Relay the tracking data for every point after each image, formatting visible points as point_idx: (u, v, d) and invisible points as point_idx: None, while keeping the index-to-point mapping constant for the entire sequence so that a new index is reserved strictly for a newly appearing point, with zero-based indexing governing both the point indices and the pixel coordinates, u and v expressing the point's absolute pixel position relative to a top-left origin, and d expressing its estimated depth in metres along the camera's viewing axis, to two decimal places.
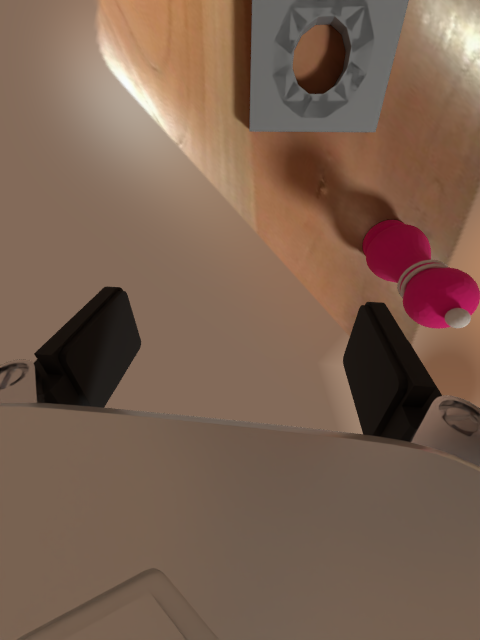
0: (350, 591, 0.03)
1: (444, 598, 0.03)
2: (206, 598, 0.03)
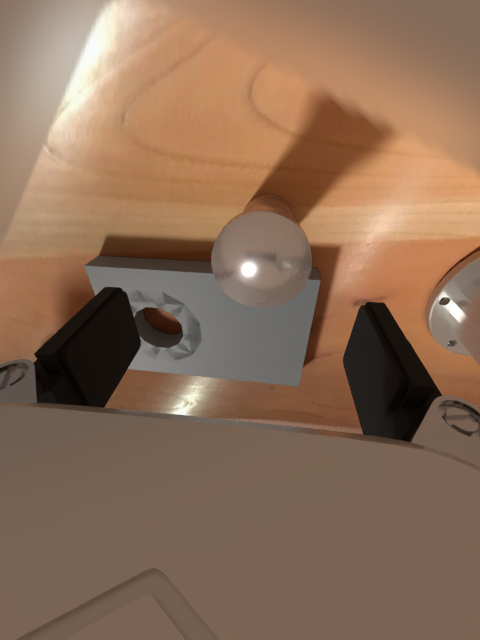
0: (350, 591, 0.03)
1: (444, 598, 0.03)
2: (205, 598, 0.03)
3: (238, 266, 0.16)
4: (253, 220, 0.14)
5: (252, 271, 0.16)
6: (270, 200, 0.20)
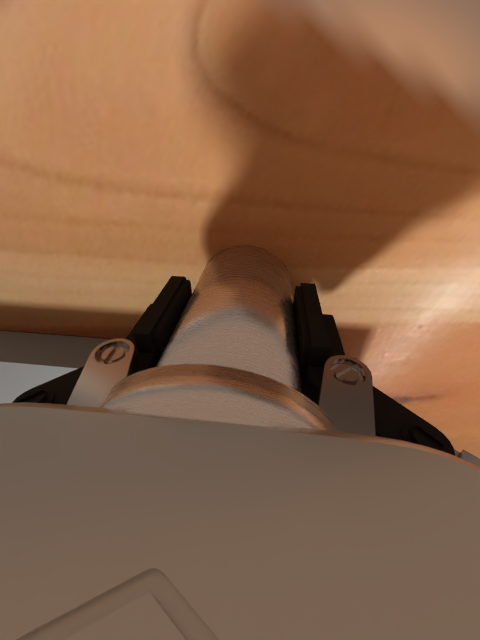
0: (350, 591, 0.03)
1: (444, 598, 0.03)
2: (205, 598, 0.03)
3: None
4: None
5: None
6: (246, 268, 0.10)
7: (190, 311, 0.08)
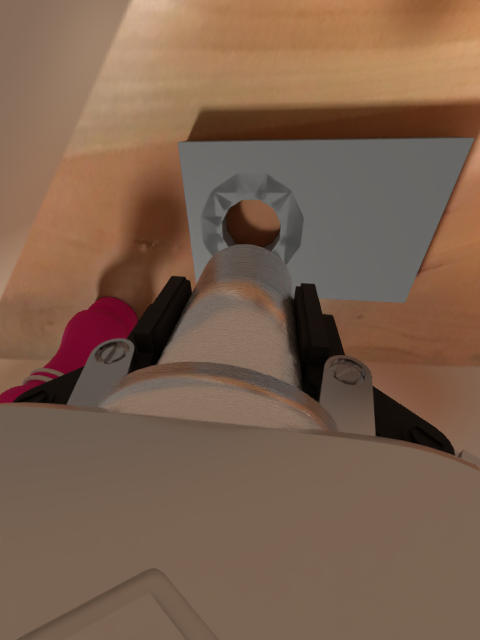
0: (350, 591, 0.03)
1: (444, 598, 0.03)
2: (205, 600, 0.03)
3: None
4: None
5: None
6: (246, 267, 0.10)
7: (190, 309, 0.08)
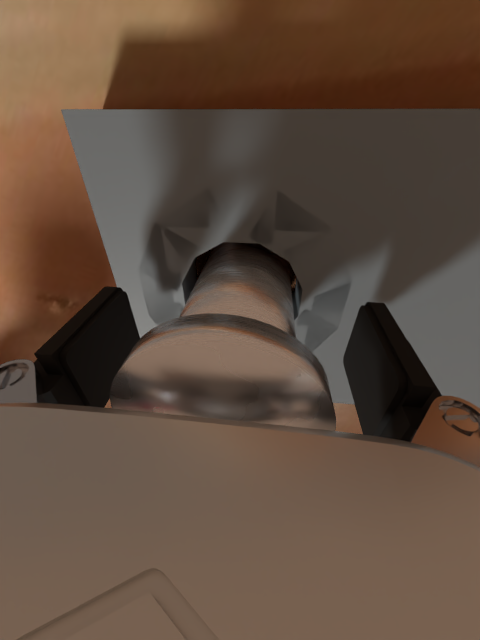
0: (350, 591, 0.03)
1: (444, 599, 0.03)
2: (205, 598, 0.03)
3: None
4: (191, 354, 0.06)
5: None
6: (248, 251, 0.11)
7: (200, 286, 0.10)
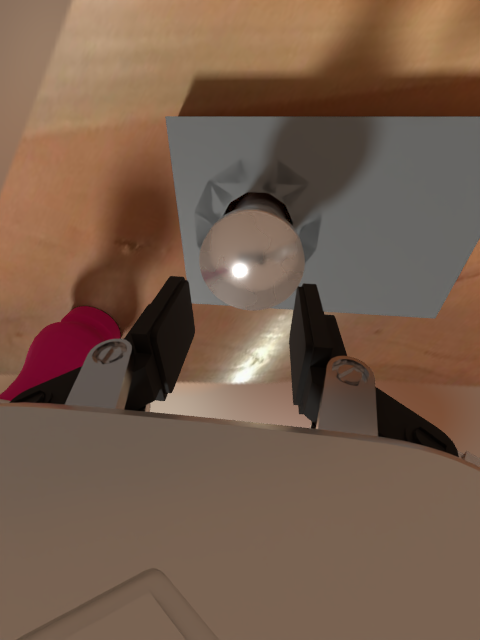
0: (350, 591, 0.03)
1: (444, 598, 0.03)
2: (205, 598, 0.03)
3: (228, 267, 0.15)
4: (242, 219, 0.13)
5: (243, 272, 0.15)
6: (261, 198, 0.19)
7: None
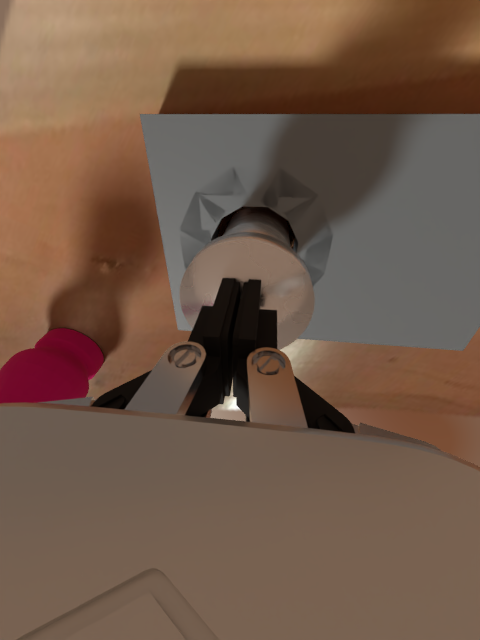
0: (350, 591, 0.03)
1: (444, 598, 0.03)
2: (206, 599, 0.03)
3: None
4: (233, 249, 0.10)
5: None
6: (259, 213, 0.16)
7: (228, 233, 0.14)
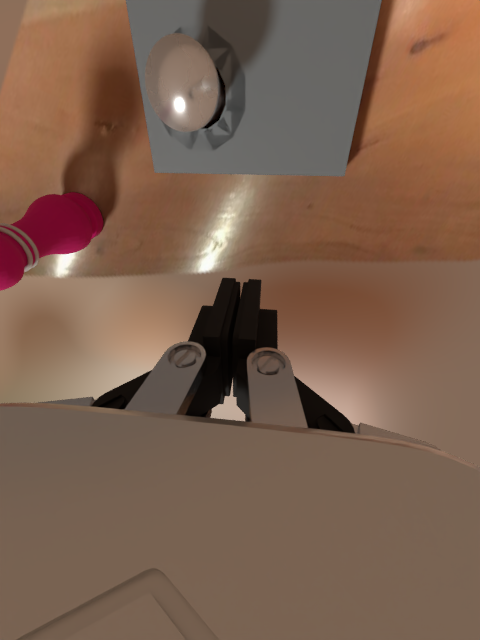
0: (350, 591, 0.03)
1: (444, 598, 0.03)
2: (206, 598, 0.03)
3: (165, 89, 0.22)
4: (170, 40, 0.20)
5: (176, 92, 0.22)
6: None
7: None
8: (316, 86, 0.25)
